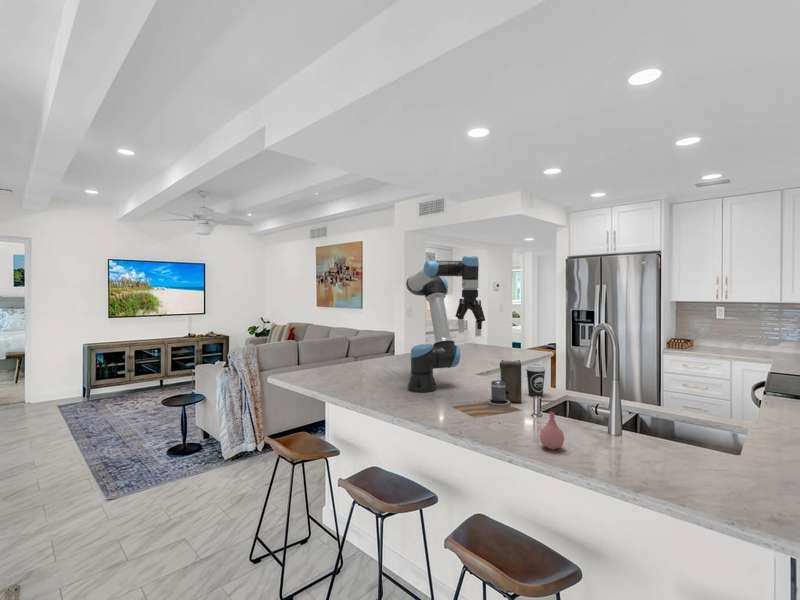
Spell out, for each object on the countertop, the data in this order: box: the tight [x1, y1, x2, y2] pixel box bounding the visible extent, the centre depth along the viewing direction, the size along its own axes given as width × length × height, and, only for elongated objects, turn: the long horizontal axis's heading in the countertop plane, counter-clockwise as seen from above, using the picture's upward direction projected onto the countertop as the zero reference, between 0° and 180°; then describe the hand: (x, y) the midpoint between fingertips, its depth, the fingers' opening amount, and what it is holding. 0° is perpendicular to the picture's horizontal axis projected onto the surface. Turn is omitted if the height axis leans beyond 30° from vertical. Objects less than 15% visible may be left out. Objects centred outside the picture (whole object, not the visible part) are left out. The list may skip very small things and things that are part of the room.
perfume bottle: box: [539, 411, 565, 451], centre depth 139 cm, size 8×8×12 cm
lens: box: [490, 379, 506, 404], centre depth 182 cm, size 6×6×11 cm
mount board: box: [451, 398, 522, 419], centre depth 181 cm, size 18×24×4 cm
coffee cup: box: [525, 363, 547, 398], centre depth 206 cm, size 10×10×15 cm
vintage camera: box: [499, 359, 523, 404], centre depth 201 cm, size 10×15×20 cm, turn 174°
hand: (469, 334), depth 196 cm, fingers open, 13 cm apart
